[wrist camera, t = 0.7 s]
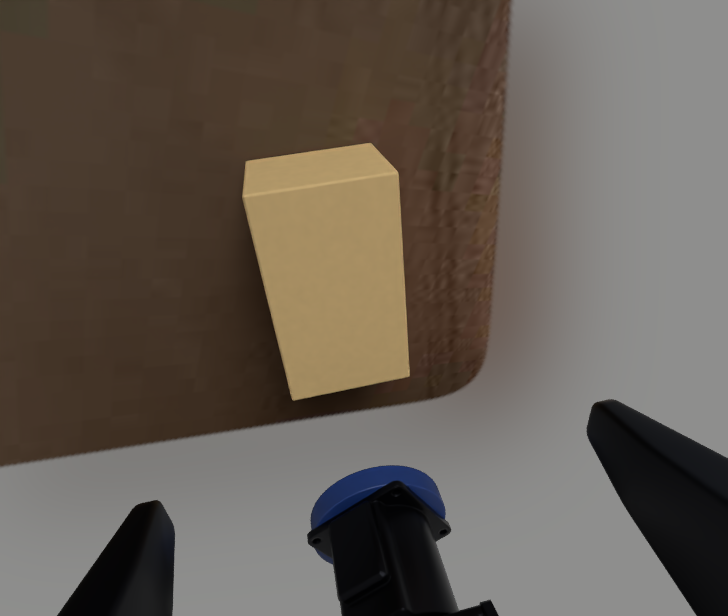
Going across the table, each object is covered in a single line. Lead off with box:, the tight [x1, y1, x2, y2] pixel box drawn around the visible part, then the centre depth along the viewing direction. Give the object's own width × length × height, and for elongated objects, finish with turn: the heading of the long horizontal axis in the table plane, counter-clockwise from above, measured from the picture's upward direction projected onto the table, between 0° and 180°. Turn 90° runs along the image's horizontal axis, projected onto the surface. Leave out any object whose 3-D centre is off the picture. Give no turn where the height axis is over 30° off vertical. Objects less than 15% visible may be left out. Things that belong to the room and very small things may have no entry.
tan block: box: [242, 143, 410, 400], centre depth 17 cm, size 8×5×4 cm, turn 6°
